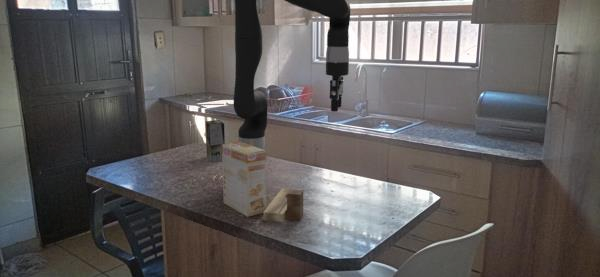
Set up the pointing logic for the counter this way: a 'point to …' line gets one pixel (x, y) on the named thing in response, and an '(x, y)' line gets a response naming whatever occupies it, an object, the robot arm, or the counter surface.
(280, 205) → the board
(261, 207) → the coffeecake box
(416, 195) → the counter surface
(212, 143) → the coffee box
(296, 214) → the brown block with peg
